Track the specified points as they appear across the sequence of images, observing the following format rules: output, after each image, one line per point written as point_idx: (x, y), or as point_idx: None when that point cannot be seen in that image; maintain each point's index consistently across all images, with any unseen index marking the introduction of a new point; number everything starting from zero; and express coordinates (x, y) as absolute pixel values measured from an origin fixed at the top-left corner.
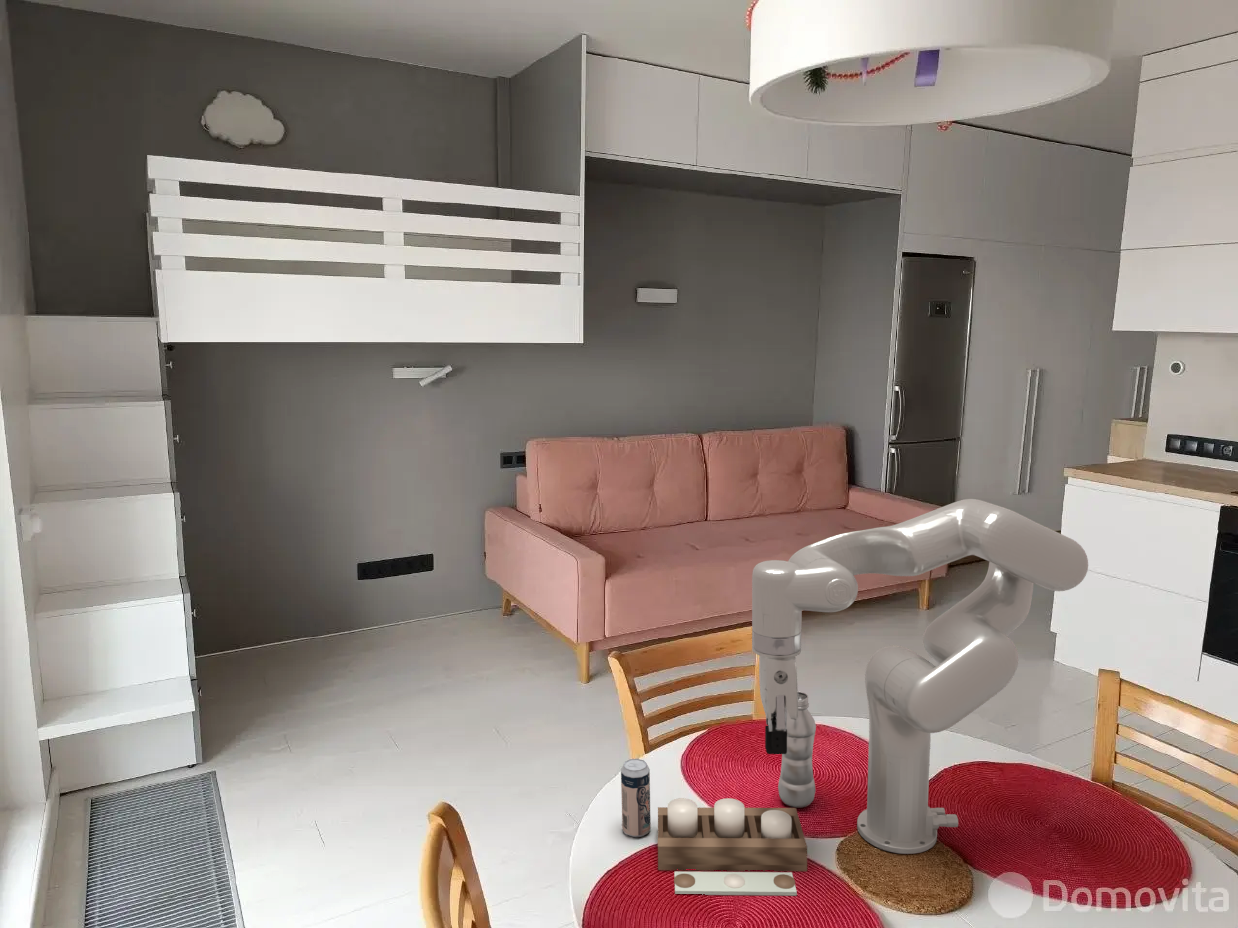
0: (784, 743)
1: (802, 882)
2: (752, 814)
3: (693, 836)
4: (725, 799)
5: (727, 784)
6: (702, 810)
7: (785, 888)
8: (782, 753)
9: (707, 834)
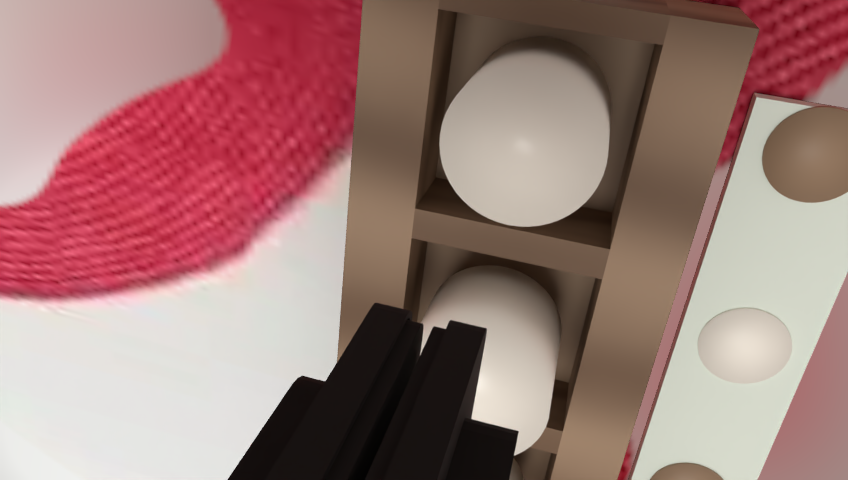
0: (460, 422)
1: (817, 58)
2: (406, 212)
3: (514, 462)
4: None
5: (62, 158)
6: None
7: None
8: (480, 361)
9: None
